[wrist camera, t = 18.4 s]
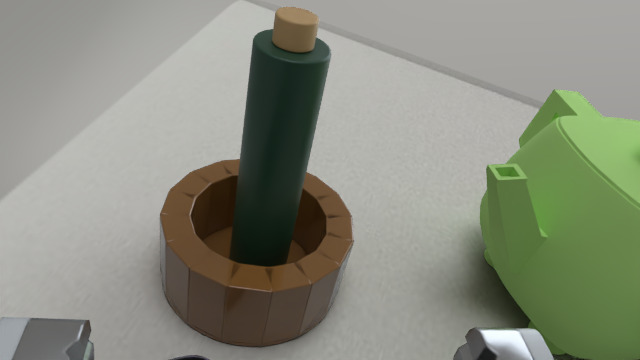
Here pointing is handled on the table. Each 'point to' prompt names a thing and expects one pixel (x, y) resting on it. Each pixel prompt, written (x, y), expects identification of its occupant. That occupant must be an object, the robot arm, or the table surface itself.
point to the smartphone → (190, 358)
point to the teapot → (571, 228)
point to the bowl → (243, 279)
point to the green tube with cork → (277, 135)
